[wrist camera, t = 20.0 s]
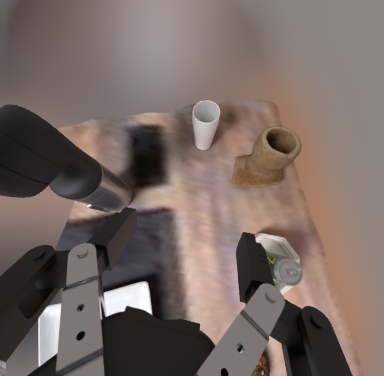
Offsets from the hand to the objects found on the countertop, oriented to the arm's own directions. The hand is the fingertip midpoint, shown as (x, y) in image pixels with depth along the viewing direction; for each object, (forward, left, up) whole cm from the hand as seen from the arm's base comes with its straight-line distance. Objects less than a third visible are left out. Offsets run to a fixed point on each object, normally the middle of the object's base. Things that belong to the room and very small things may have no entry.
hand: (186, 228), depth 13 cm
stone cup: (+26, +5, -37) cm, 46 cm away
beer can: (+12, -17, -36) cm, 41 cm away
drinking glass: (+18, +21, -37) cm, 46 cm away
